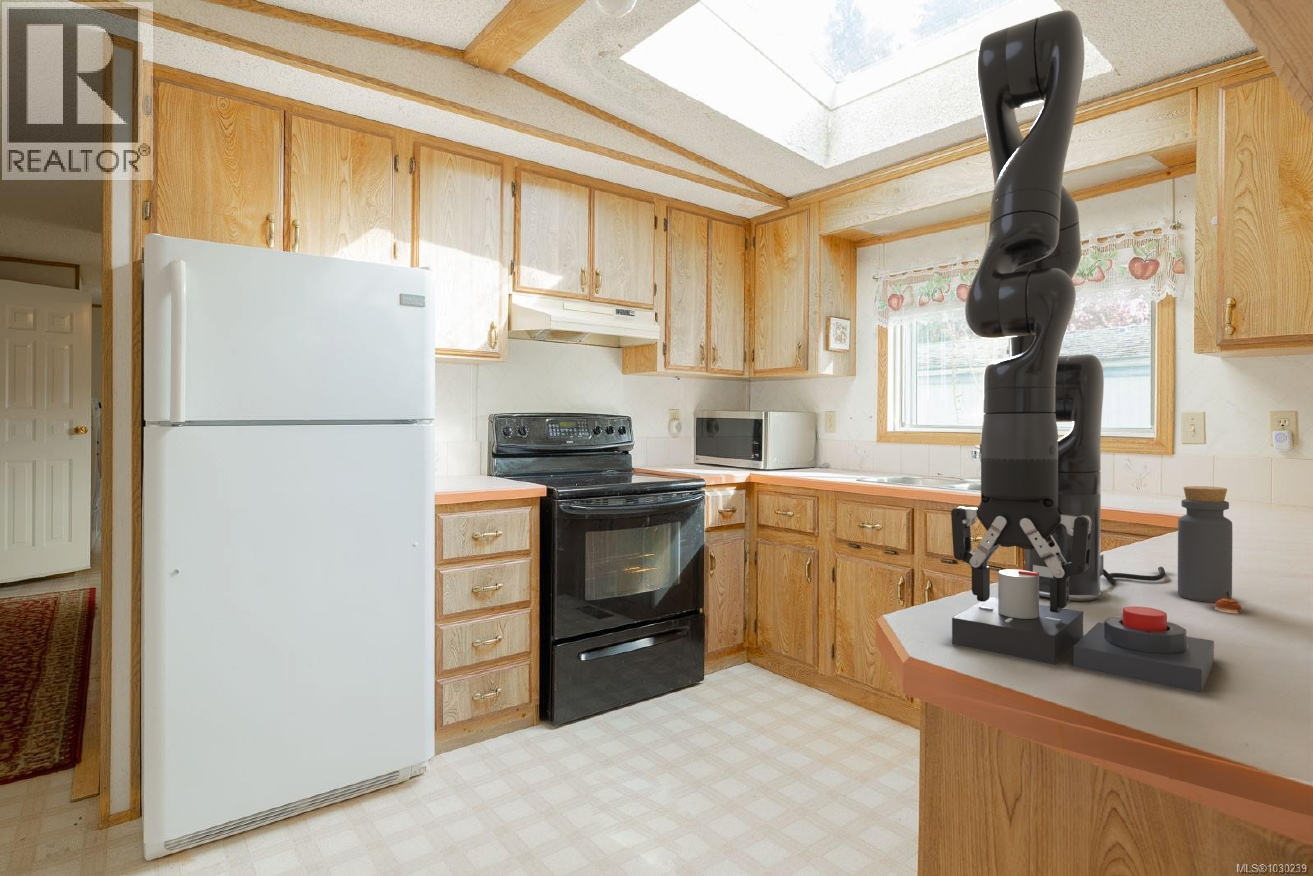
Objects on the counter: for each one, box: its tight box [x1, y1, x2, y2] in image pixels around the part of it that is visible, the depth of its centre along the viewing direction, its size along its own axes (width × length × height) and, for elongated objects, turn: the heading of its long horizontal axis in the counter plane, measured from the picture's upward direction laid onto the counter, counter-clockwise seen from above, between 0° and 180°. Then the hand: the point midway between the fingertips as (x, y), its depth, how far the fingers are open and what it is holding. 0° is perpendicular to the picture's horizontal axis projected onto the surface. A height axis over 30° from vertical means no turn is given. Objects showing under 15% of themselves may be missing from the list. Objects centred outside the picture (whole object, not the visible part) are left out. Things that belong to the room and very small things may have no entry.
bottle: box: [1177, 485, 1233, 603], centre depth 96 cm, size 6×6×15 cm
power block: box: [1072, 615, 1215, 693], centre depth 70 cm, size 11×10×4 cm
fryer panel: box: [951, 596, 1084, 666], centre depth 78 cm, size 12×10×3 cm
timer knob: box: [997, 569, 1040, 619], centre depth 77 cm, size 4×4×5 cm
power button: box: [1122, 605, 1168, 631], centre depth 70 cm, size 4×4×2 cm
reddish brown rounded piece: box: [1214, 589, 1243, 614], centre depth 89 cm, size 3×3×3 cm
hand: (1018, 605), depth 77 cm, fingers open, 7 cm apart
